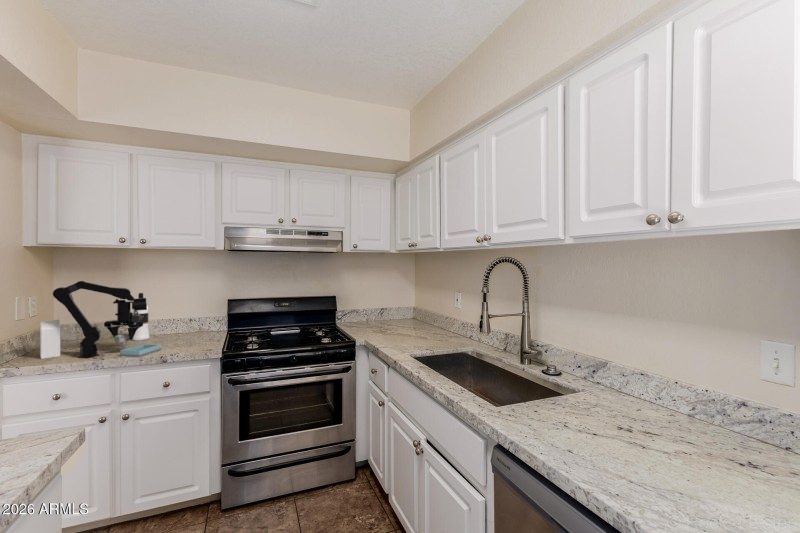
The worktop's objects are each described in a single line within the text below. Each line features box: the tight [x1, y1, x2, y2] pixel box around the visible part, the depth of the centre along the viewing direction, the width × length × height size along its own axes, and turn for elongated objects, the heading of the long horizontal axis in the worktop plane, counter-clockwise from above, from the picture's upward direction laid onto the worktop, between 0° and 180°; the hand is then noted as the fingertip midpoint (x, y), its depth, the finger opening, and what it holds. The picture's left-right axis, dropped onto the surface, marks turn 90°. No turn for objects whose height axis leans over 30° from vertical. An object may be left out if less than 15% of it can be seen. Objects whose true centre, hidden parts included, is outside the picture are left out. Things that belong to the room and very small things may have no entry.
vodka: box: [131, 292, 150, 342], centre depth 230 cm, size 9×9×30 cm
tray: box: [119, 343, 162, 358], centre depth 196 cm, size 11×15×3 cm
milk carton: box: [39, 319, 61, 360], centre depth 187 cm, size 7×7×19 cm
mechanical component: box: [113, 333, 131, 350], centre depth 197 cm, size 3×10×10 cm, turn 174°
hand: (123, 339), depth 197 cm, fingers open, 9 cm apart
